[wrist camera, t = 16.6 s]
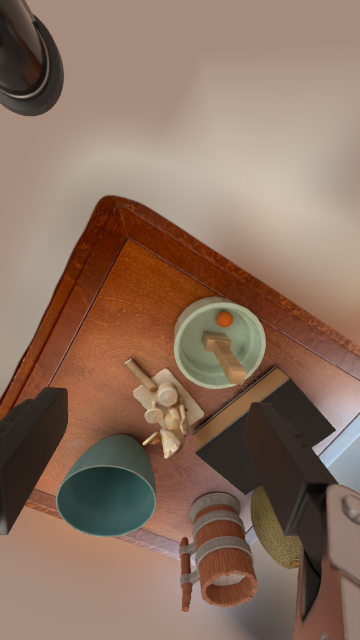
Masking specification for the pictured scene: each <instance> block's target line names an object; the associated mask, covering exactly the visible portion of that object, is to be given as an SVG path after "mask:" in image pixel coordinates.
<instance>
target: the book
mask: <svg viewBox="0 0 360 640" xmlns="http://www.w3.org/2000/svg"><path fill="white" fill-rule="evenodd" d="M252 402H262V403H270V404H271V405H272V406H273V407H274V408H275V410H276V411H277V413H278V414H279V415H280V416H283V417H284V418H286V419H287V420H288V421H289V422H290V423H292V424H293V425H294V426H295V428H296V429H297V430H298V432H299V433H300V434H301V435H302V438H304V439H305V441H306V442H307V443H308V445H309V447H311V448H312V447H314V446H315V445H316V444H318V443H319V442H321V441H322V440H323V439H325V438H326V437H328V436H329V435H330V434H332V433H333V432H335V431H336V429H335V428H334V427H333V426H332V425H331V424H330V423H329V422H328V420H327V419H326V418H325V417H324V416H323V415H322V414H321V413H320V411H319V410H318V409H317V408H316V407H315V406H314V405H313V403H312V402H311V401H310V400H309V399H308V398H307V397H306V396H305V394H304V393H303V392H302V391H301V390H300V389H299V388H298V387H297V385H296V384H295V383H294V382H293V381H292V380H291V379H290V378H288V377H287V376H286V375H285V374H284V373H283V372H282V371H281V370H280V369H279V367H278V366H277V365H276V366H274V367H273V368H272V369H271V370H269V371H268V372H267V373H266V374H264V375H263V376H262V377H261V378H259V379H258V380H257V381H256V382H254V383H253V384H252V385H251V386H249V387H248V388H247V389H246V390H244V391H243V392H242V393H241V394H240V395H238V396H237V397H236V398H235V399H233V400H232V401H231V402H230V403H228V404H227V405H226V406H225V407H223V408H222V409H221V410H220V411H218V412H217V413H216V414H215V415H213V416H212V417H211V418H210V419H208V420H207V421H206V422H205V423H203V424H202V425H201V426H200V427H198V428H197V429H196V430H195V431H194V432H192V433H193V435H194V441H195V448H196V451H195V453H196V455H198V456H199V457H200V458H201V459H202V460H204V461H205V462H206V463H207V464H208V465H210V466H211V467H212V468H213V469H215V470H216V471H217V472H218V473H219V474H221V475H222V476H223V477H224V478H225V479H227V480H228V481H229V482H230V483H231V484H233V485H234V486H235V487H236V488H237V489H239V490H240V491H241V492H242V493H244V494H245V495H246V494H248V493H249V492H251V491H252V490H253V489H255V488H256V487H258V486H259V485H260V484H262V482H261V480H260V478H259V475H258V473H257V471H256V468H255V466H254V464H253V462H252V459H251V457H250V455H249V452H248V450H247V448H246V445H245V442H244V436H243V432H244V427H245V423H246V419H247V415H248V412H249V408H250V405H251V403H252Z"/></svg>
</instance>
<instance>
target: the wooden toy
mask: <svg viewBox="0 0 360 640" xmlns="http://www.w3.org/2000/svg"><path fill="white" fill-rule="evenodd" d="M125 365H126V366H127V368H128V369H129V370H130V371H131V372H132V373H133V374H134V375H135V376H136V378H138V380H139V381H140V382H141V383H142V385H140V386H139V387H138V388H136V389H135V390H134V391H133V396H134V397H135V398H136V399H137V400H139V402H140V403H141V404H142V406H143V407H144V408H145V409H146V410H147V411H146V413H145V416H144V418H145V420H146V421H147V422H148V423H151V424H156V423H159V424H160V425H161V426H162V427H163V428H162V429H161V430H160V431H156V432H155V433H153V434H152V435H151V436H150V437H149V438H148V439H146V440H145V441H144V442H143V445H146V444H152V445H154V444H161V445H163V449H164V453H165V455H164V458H165V459H167V458H169V457H170V456H171V455H174V454H176V453H178V452H179V451H180V450H181V449H182V448H183V444H184V441H185V436H187V435H188V431H189V426H191V425H192V424H194V423H195V422H196V421H198V420H200V419H202V418H203V417H204V411H203V410H202V409H201V408H200V407H199V405H198V404H197V403H196V402H195V400H194V399H193V398H192V397H191V396H190V394H189V393H188V392H187V391H186V390H185V388H184V387H183V386H182V384H181V383H180V382H179V381H178V380H177V379H176V378H175V376H174V375H173V374H172V373H171V371H170V370H169V369H167V368H164V369H163V370H161V371H160V372H159V373H157V374H156V375H154V376H153V377H151V378H149V377H148V376H147V375H146V374H145V373H144V372H143V371H142V370H141V369H140V367H138V366H137V365H136V363H135V362H134V361H133V360H132V359H129V360H128V361H126V362H125Z"/></svg>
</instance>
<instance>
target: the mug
mask: <svg viewBox="0 0 360 640" xmlns="http://www.w3.org/2000/svg"><path fill="white" fill-rule="evenodd" d="M239 514H240V505H239V503H238V501H237V500H236V499H235V498H234V497H232V496H230V495H228V494H226V493H221V492H214V493H209V494H206V495H204V496H202V497H200V498H199V499H197V500H196V501H195V502H194V504H193V505H192V507H191V509H190V514H189V515H190V519H191V521H192V523H193V525H194V527H193V540H194V542H193V543H191V544H190V545H189V544H188V538H186V537H184V538H182V541H181V543H180V549H179V554H180V558H181V569H182V570H181V571H182V572H181V578H180V579H181V580H180V582H181V588H182V592H183V596H182V611H184V612H187V611H189V604H190V600H191V592H192V586H193V584H195V583H196V582H198V581H200V585H201V594H202V598H203V599H204V600H205V601H206V602H207V603H209V604H211V605H216V606H221V607H234V606H237V605H239V604H241V603H244V602H246V601H247V600H248V601H250V600H251V599H252V598H253V595H254V594H255V592H256V591H257V589H258V583H257V580H256V576H255V572H254V569H253V563H254V562H253V556H252V553H251V549H250V547H249V545H248V544H247V542H246V540H245V535H246V534H245V528H244V525H243V522H242V519H241V518H240V517H239ZM195 552H197V553H196V557H195V561H196V571H194V572H192V573H191V568H190V557H191V555H192V554H193V553H195Z"/></svg>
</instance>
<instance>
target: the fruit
mask: <svg viewBox="0 0 360 640" xmlns="http://www.w3.org/2000/svg"><path fill="white" fill-rule="evenodd" d="M251 519H252V524H253V527H254V530H255V532H256V534H257V537H258V538H259V540H260V542H261V544H262V546H263V547H264V549H265V550H266V551H267V552H268V554H269V555H270V556H271V557H272V558H273V559H274V560H275V561H276V562H277V563H278V564H279V565H281V566H283V567H285V568H288V569H294V568H297V567H299V557H300V549H301V547H302V543H301V541H300V539H299V537H298V536H284V533H283V531H282V529H281V526H280V524H279V522H278V519H277V517H276V515H275V512H274V510H273V508H272V506H271V503H270V501H269V499H268V496H267V494H266V492H265V489H264V487H263V485H261V486H259V487H258V488H257V489H256V490H255V491H254V493H253V495H252V499H251Z"/></svg>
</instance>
